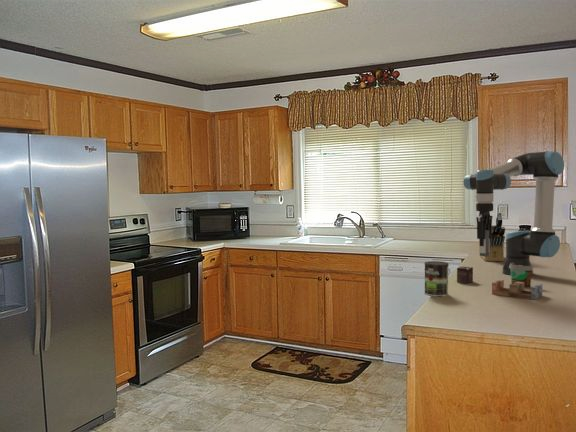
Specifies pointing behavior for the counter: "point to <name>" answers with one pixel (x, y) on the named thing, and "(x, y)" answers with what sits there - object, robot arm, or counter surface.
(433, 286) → the coffee can
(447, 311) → the counter surface
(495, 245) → the knife block
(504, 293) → the socket block
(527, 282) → the food container
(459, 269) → the box
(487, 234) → the plug
